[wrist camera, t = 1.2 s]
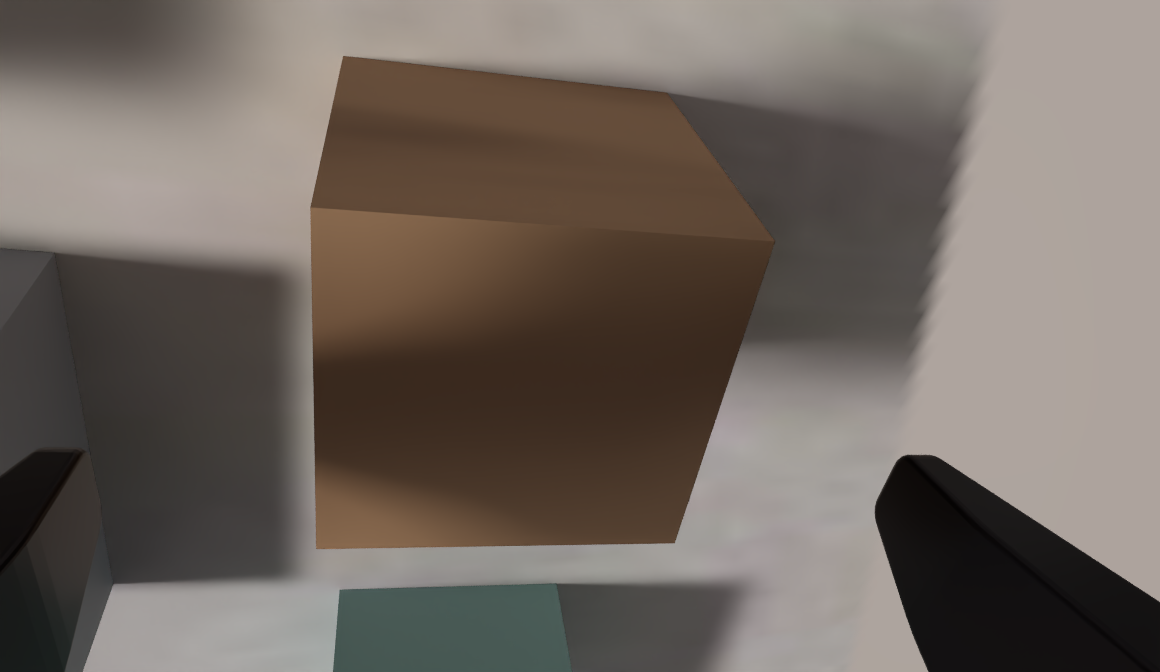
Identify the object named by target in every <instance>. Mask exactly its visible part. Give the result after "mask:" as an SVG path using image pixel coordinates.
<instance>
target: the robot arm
mask: <svg viewBox="0 0 1160 672" xmlns="http://www.w3.org/2000/svg"><path fill="white" fill-rule="evenodd" d="M101 518H102V511H101V503H100V498H99V494H98V489H97V484H96V480H95V475H94V471H93V466H92V461H91V458H90V456H89V454H88V452H87V451H86V450H84V449H82V448H78V447H44V448H39V449H37V450H35V451H33V452H31V453H30V454H29V455H27V456H26V457H24V458H23V459H22V460H20V461H19V462H18V463H16V464H15V465H14V466H12V467H11V468H10V469H8V470H7V471H5V472H4V473H3V474H1V475H0V672H65V670H66V667H67V663H68V659H69V655H70V652H71V648H72V644H73V639H74V635H75V631H76V627H77V623H78V619H79V615H80V611H81V607H82V602H83V598H84V594H85V590H86V586H87V582H88V578H89V574H90V570H91V565H92V561H93V557H94V553H95V549H96V545H97V541H98V537H99V533H100V528H101ZM875 519H876V524H877V527H878V530H879V533H880V536H881V539H882V542H883V546H884V549H885V552H886V555H887V558H888V561H889V564H890V567H891V570H892V574H893V576H894V580H895V583H896V586H897V589H898V592H899V595H900V598H901V601H902V605H903V607H904V610H905V614H906V617H907V619H908V622H909V625H910V628H911V631H912V634H913V636H914V639H915V641H916V644H917V646H918V648H919V651H920V654H921V655H922V658H923V660H924V663H925V665H926V667H927V670H928V672H1160V602H1159V601H1157V600H1156V599H1154V598H1153V597H1151V596H1150V595H1148V594H1147V593H1145V592H1143V591H1142V590H1141V589H1139V588H1138V587H1136V586H1134V585H1133V584H1131V583H1130V582H1128V581H1127V580H1125V579H1124V578H1122V577H1121V576H1119V575H1118V574H1116V573H1114V572H1113V571H1111V570H1110V569H1108V568H1107V567H1105V566H1104V565H1102V564H1101V563H1099V562H1098V561H1096V560H1095V559H1093V558H1091V557H1090V556H1088V555H1087V554H1085V553H1084V552H1082V551H1081V550H1079V549H1078V548H1076V547H1075V546H1073V545H1072V544H1070V543H1069V542H1067V541H1065V540H1064V539H1062V538H1061V537H1059V536H1058V535H1056V534H1055V533H1053V532H1052V531H1050V530H1049V529H1047V528H1046V527H1044V526H1043V525H1041V524H1039V523H1038V522H1036V521H1035V520H1033V519H1032V518H1030V517H1029V516H1027V515H1026V514H1024V513H1022V512H1021V511H1019V510H1018V509H1016V508H1015V507H1013V506H1012V505H1010V504H1009V503H1007V502H1006V501H1004V500H1003V499H1001V498H1000V497H998V496H997V495H995V494H994V493H992V492H990V491H989V490H987V489H986V488H984V487H983V486H981V485H980V484H978V483H977V482H975V481H973V480H972V479H970V478H969V477H967V476H966V475H964V474H963V473H961V472H960V471H958V470H957V469H955V468H954V467H952V466H951V465H949V464H947V463H946V462H944V461H943V460H941V459H940V458H938V457H936V456H932V455H905V456H902V457H901V458H900V459H898V460H897V462H896V463H895V465H894V467H893V469H892V471H891V473H890V475H889V477H888V479H887V481H886V483H885V485H884V487H883V489H882V491H881V493H880V495H879V497H878V499H877V501H876V505H875Z"/></svg>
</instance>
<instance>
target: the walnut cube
mask: <svg viewBox="0 0 1160 672" xmlns="http://www.w3.org/2000/svg"><path fill="white" fill-rule="evenodd" d="M310 208H311V266H312V324H313V382H314V440H315V498H316V549H345V548H407V547H469V546H531V545H592V544H654V543H675V540H676V537H677V534H678V531H679V528H680V525H681V522H682V519H683V516H684V513H685V510H686V507H687V504H688V501H689V498H690V495H691V492H692V489H693V486H694V483H695V480H696V477H697V474H698V471H699V468H700V465H701V462H702V459H703V456H704V453H705V450H706V447H707V444H708V441H709V438H710V435H711V432H712V429H713V426H714V423H715V420H716V417H717V414H718V411H719V408H720V405H721V402H722V399H723V396H724V393H725V390H726V387H727V384H728V381H729V378H730V375H731V372H732V369H733V366H734V363H735V360H736V357H737V354H738V351H739V348H740V345H741V342H742V339H743V336H744V333H745V330H746V327H747V324H748V321H749V318H750V315H751V312H752V309H753V306H754V303H755V300H756V297H757V294H758V291H759V288H760V285H761V282H762V279H763V276H764V273H765V270H766V267H767V264H768V261H769V258H770V255H771V252H772V249H773V246H774V243H775V241H774V239H773V238H772V236H771V235H770V234H769V232H768V231H767V230H766V228H765V227H764V225H763V224H762V223H761V221H760V220H759V219H758V217H757V216H756V214H755V213H754V212H753V210H752V209H751V208H750V206H749V205H748V203H747V202H746V201H745V199H744V198H743V197H742V195H741V194H740V192H739V191H738V190H737V188H736V187H735V186H734V184H733V183H732V181H731V180H730V179H729V177H728V176H727V175H726V173H725V172H724V170H723V169H722V168H721V166H720V165H719V164H718V162H717V161H716V159H715V158H714V157H713V155H712V154H711V153H710V151H709V150H708V148H707V147H706V146H705V144H704V143H703V142H702V140H701V139H700V137H699V136H698V135H697V133H696V132H695V131H694V129H693V128H692V126H691V125H690V124H689V122H688V121H687V120H686V118H685V117H684V115H683V114H682V113H681V111H680V110H679V109H678V107H677V106H676V104H675V103H674V102H673V100H672V99H671V98H670V96H669V95H668V93H664V92H656V91H647V90H638V89H629V88H620V87H611V86H603V85H594V84H585V83H576V82H567V81H559V80H550V79H541V78H532V77H523V76H514V75H506V74H497V73H488V72H479V71H470V70H461V69H453V68H444V67H435V66H426V65H417V64H408V63H400V62H391V61H382V60H373V59H364V58H355V57H347V56H343V60H342V64H341V69H340V73H339V78H338V83H337V87H336V92H335V97H334V101H333V106H332V110H331V115H330V120H329V124H328V129H327V134H326V138H325V143H324V147H323V152H322V157H321V161H320V166H319V170H318V175H317V180H316V184H315V189H314V194H313V198H312V203H311V207H310Z"/></svg>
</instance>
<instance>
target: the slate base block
mask: <svg viewBox="0 0 1160 672" xmlns="http://www.w3.org/2000/svg"><path fill="white" fill-rule="evenodd" d="M44 447H78V448H82V449H84V450H86V451H87V452H88V454H89V456H90V450H89V444H88V439H87V433H86V427H85V422H84V416H83V410H82V405H81V399H80V394H79V388H78V382H77V377H76V371H75V365H74V360H73V354H72V348H71V343H70V337H69V331H68V326H67V320H66V314H65V309H64V303H63V298H62V292H61V286H60V281H59V275H58V269H57V264H56V258H55V253H52V252H39V251H26V250H13V249H0V475H1V474H3V473H4V472H5V471H7V470H8V469H10V468H11V467H12V466H14V465H15V464H16V463H18V462H19V461H20V460H22V459H23V458H24V457H26V456H27V455H29V454H30V453H31V452H33V451H35V450H37V449H39V448H44ZM90 458H91V456H90ZM112 586H113V580H112V574H111V569H110V563H109V557H108V552H107V546H106V540H105V535H104V529H103V523H102V518H101V528H100V533H99V537H98V541H97V545H96V549H95V553H94V557H93V561H92V565H91V570H90V574H89V578H88V582H87V586H86V590H85V594H84V598H83V602H82V607H81V611H80V615H79V619H78V623H77V627H76V631H75V635H74V639H73V644H72V648H71V652H70V655H69V659H68V663H67V667H66V670H65V672H83V669H84V666H85V663H86V660H87V658H88V655H89V652H90V649H91V646H92V643H93V640H94V638H95V635H96V632H97V629H98V626H99V623H100V620H101V618H102V615H103V612H104V609H105V606H106V603H107V600H108V598H109V595H110V592H111V589H112Z"/></svg>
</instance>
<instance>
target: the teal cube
mask: <svg viewBox="0 0 1160 672" xmlns="http://www.w3.org/2000/svg"><path fill="white" fill-rule="evenodd" d="M333 672H572V669H571V663H570V657H569V652H568V646H567V640H566V635H565V629H564V623H563V618H562V612H561V606H560V601H559V595H558V590H557V584H527V585H492V586H457V587H422V588H387V589H352V590H340V592H339V605H338V617H337V630H336V642H335V654H334V667H333Z"/></svg>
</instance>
